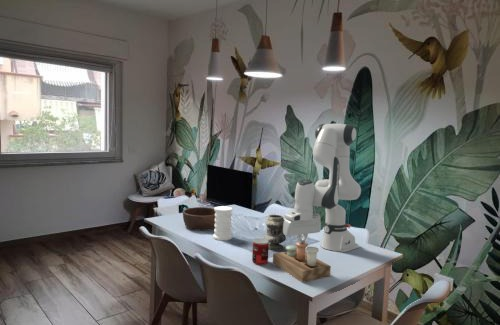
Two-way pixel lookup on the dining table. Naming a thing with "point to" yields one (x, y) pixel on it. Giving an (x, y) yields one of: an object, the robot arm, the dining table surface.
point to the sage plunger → (291, 250)
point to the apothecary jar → (275, 231)
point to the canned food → (260, 251)
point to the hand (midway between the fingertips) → (301, 243)
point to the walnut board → (301, 267)
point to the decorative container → (222, 223)
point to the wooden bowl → (199, 218)
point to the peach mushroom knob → (301, 250)
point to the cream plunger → (311, 255)
